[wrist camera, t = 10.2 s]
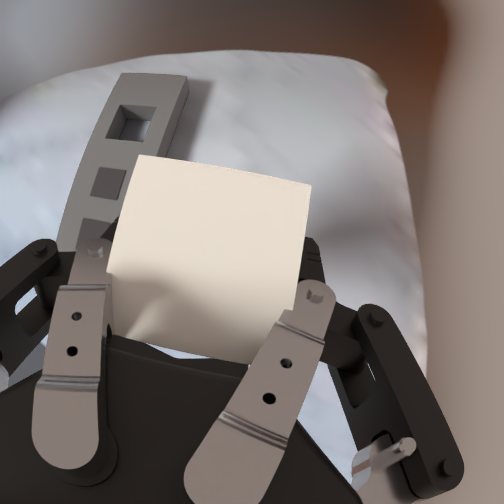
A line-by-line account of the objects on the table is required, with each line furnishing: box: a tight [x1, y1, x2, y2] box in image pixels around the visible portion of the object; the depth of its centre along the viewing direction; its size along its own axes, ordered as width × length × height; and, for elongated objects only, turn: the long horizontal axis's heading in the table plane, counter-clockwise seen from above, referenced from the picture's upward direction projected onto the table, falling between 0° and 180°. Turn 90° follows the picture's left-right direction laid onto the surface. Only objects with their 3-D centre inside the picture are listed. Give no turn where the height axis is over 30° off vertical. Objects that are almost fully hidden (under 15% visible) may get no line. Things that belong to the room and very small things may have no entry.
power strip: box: [56, 73, 189, 252], centre depth 23 cm, size 7×22×3 cm, turn 170°
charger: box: [106, 155, 312, 365], centre depth 12 cm, size 5×5×9 cm
